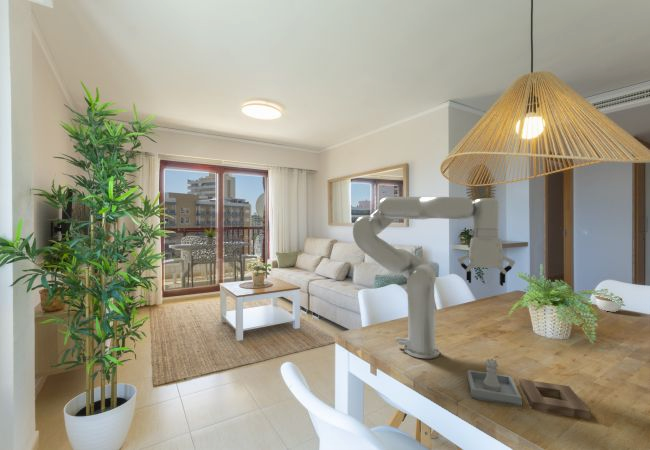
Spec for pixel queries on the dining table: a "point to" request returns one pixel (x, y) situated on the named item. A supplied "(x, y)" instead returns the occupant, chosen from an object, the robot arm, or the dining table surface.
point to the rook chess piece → (491, 376)
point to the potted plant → (607, 304)
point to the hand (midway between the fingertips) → (485, 283)
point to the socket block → (565, 406)
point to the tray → (504, 396)
